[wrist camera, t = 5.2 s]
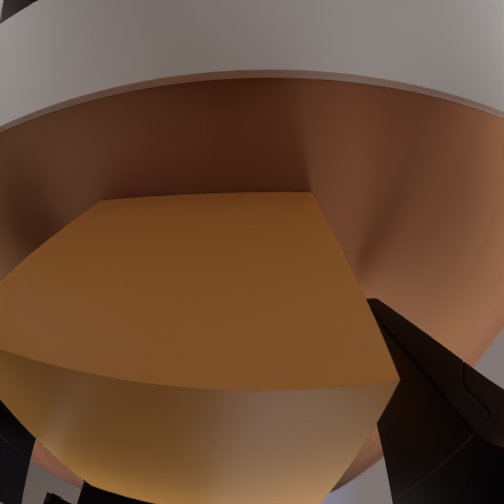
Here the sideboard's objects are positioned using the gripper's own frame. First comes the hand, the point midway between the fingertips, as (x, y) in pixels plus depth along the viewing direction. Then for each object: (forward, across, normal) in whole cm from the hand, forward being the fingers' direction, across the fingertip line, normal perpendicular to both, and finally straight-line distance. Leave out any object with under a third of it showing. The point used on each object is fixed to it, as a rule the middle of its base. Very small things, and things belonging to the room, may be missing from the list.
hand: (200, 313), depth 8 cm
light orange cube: (+1, 0, 0) cm, 1 cm away
